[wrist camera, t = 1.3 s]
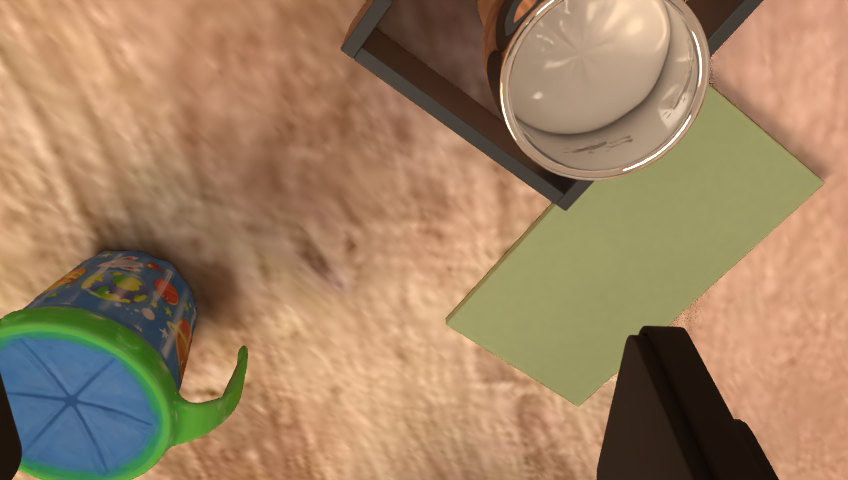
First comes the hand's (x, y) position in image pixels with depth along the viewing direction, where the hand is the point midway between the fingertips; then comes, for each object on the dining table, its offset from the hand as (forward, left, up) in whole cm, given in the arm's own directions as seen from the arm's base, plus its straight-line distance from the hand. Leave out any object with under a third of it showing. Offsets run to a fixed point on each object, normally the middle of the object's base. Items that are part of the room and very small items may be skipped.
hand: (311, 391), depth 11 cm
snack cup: (+23, -2, -29) cm, 37 cm away
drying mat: (+3, +19, -29) cm, 35 cm away
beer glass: (-5, +6, -29) cm, 30 cm away
